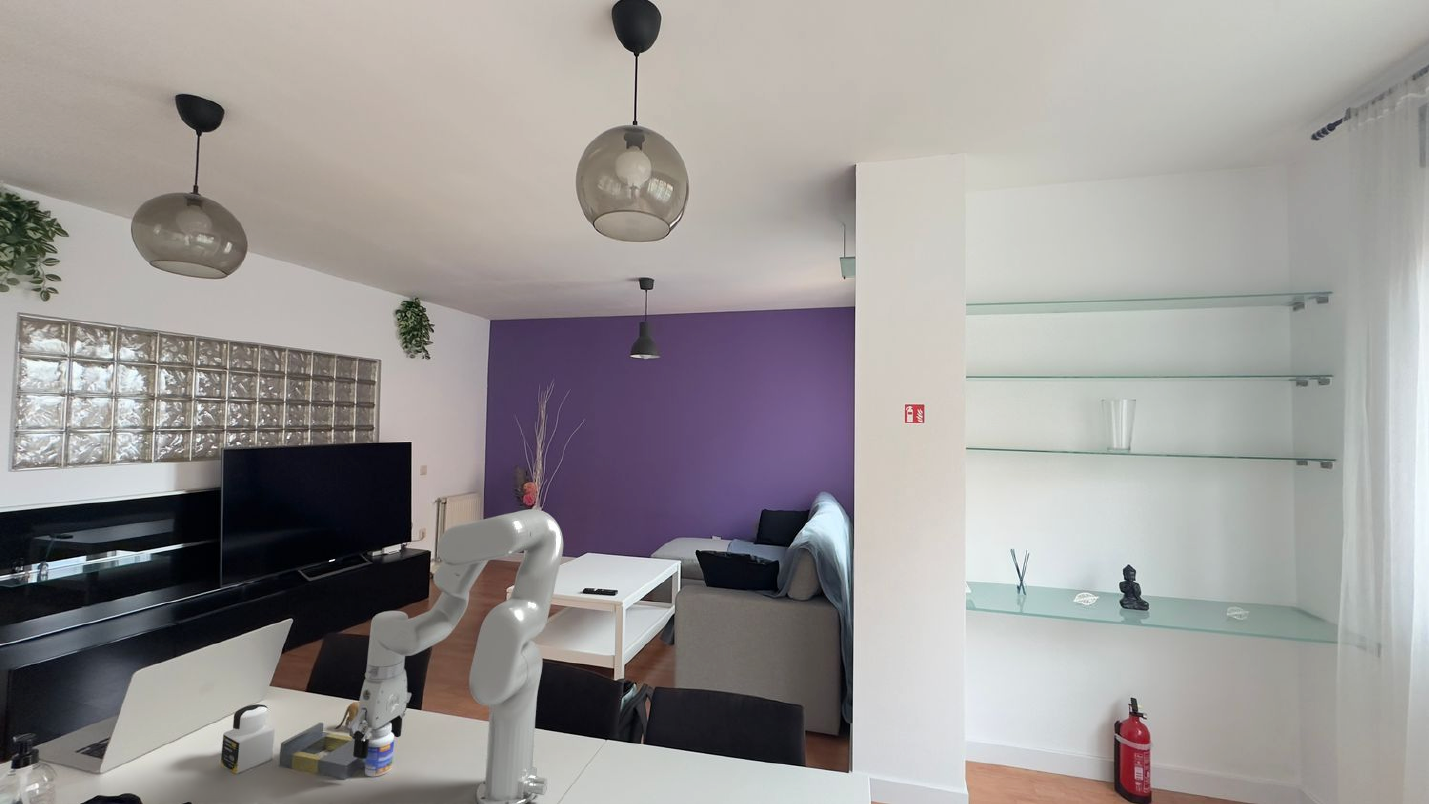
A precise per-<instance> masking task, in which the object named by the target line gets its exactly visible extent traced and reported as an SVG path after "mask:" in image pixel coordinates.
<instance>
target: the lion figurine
mask: <svg viewBox="0 0 1429 804" xmlns="http://www.w3.org/2000/svg"><path fill="white" fill-rule="evenodd" d="M358 706H359V701H355V702H351V704H349V705H348V706H347V707H346V710H345V713H344V715H343V718H342V720H341V722H340V724H338V725H337V726H336V727H335V728H334V730H339V729H340V728H341V727H342V726H343V724H344V723H345V724H344V726H345V728H347V726H348V725H349V723H350V722H351V721H352V720H353V719H354V718H355V717H356V716H357V714H358Z"/></svg>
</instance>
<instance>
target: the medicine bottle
mask: <svg viewBox="0 0 1429 804" xmlns="http://www.w3.org/2000/svg"><path fill="white" fill-rule="evenodd" d="M268 711H269V710H268V706H267V705H265V704H250V705H247V706H244V707H241V708H239V709H238V710H237V711H235V712H234V713H233V724H232V729H231V730H228V731H225V732H224V733H223V736H222V743H221V744H222V745H221V753H220V754H221V757H220V766H223V767H224V768H225V769H227V770H229V771H231V772H232V773H234V774H236V775H237V774H240V773H243V772H245V771H247V770H250V769H252V768H255V767H257V766H260V765H262V764H264V763H267V762H269V761H271V760H272V759H273V754H274V751H273V750H274V741H275V730H276V729H275V727H273V726H271V725H269V724H267V720H268V719H267V718H268Z"/></svg>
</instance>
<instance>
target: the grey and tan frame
mask: <svg viewBox="0 0 1429 804" xmlns="http://www.w3.org/2000/svg"><path fill="white" fill-rule="evenodd" d="M354 742H355V739H353V738H352V737H351V736H348V735H343V734H338V733H332V732H331V733H330V732H325V731H324V722H319V723H317V724H315V725H312V726H311V727H309V728H307V729H305V730H303V731H301V732H299V733H297V734H295V735H294V736H292V737H290V738H288V739H286V740H284V741H282V742H280V750H279V762H278V766H279V767H281V768H282V767H283V768H288V769H292V770H297V771H301V772H307V773H310V774H317V775H320V776H321V775H322V776H326V777H331V778H334V779H335V778H336V779H340V780H345V781H346V780H347V779H348V778H350V777H351V776H354V775H355V774H356V773H357V772H359V771H361V770H362V769H365V762H366V758H365V759H361V758H357V757H354V756H353V752H354ZM322 751H330V752H329V753H327V754H325V755H320V754H319V753H321V752H322Z"/></svg>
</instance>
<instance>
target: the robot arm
mask: <svg viewBox="0 0 1429 804" xmlns="http://www.w3.org/2000/svg"><path fill="white" fill-rule="evenodd" d="M524 551H525V553H524V557H523V559H522V561H521V563H520V565H519V567H518V569H517V573H516V577H515V580H514V585H513V589H512V592H511V594H510V597H509V598H508V599H506V601H504V602H501V603H499V604H497V605H496V606H494V607H493V608H492V609H491V610H490V611H489V612H488V614H487V615H486V616H485V618H484V619H483V622H482V624H481V626H480V630H479V634H478V637H477V642H476V646H475V650H474V655H473V658H472V662H471V667H470V671H469V681H468V682H469V683H468V685H469V690H470V695H471V696H472V697H473V699H474V700H475V701H476V702H477V704H480V705H481V706H484V707H489V719H488V730H487V731H488V732H487V747H486V748H487V749H486V763H485V764H486V765H485V779H484V781H483V782H481V783H480V784H479V786H477V787H478V788H477V789H476V794H475V795H476V797H475V799H476V802H477V804H528V803H529V802H530V801H532V800H533V799H534V798H535V797H536V796H537V795H539V796H545V795H546V793H547V790H548V785H547V783H548V778H545V777H539V776H538V775H537V773H538V772H537V771H538V768H537V767H534V766H533V763H534V762H533V760H534V749H535V748H534V747H535V746H534V745H535V731H536V730H535V729H536V715H537V714H536V713H537V712H536V711H537V701H538V700H537V699H538V698H537V697H538V691H539V686H540V680H541V675H542V673H543V672H542V671H543V670H542V669H543V655H542V652H541V649H540V647H539V645H537V643H536V642H534V641H532V639H534V638H535V637H537V636H538V635H539V634H540V633H542V631H543V630H544V629H545V627H546V625H547V622H548V619H549V614H550V610H551V604H552V602H553V601H552V600H553V595H554V592H555V587H556V582H557V579H558V574H559V570H560V567H561V562H562V558H563V553H564V552H563V551H564V539H563V533H562V529H561V528H560V525H559V524H558V522H557V521H556V519H555V518H554V517H552V516H551V515H550V514H549V513H547V512H545V511H543V510H540V509H533V508H530V509H523V510H519V511H516V512H510V513H504V514H501V515H497V516H493V517H487V518H485V519H481V520H474V521H469V522H464V523H461V524H456V525H453V526H451V527H449V528H447V529H446V530H445V531H444V532H443V533H442V535H441V536H440V539H439V541H438V545H437V554H438V556H439V558H440V560H441V562H440V564H439V565H438V567H437V568H436V570H435V571H434V573H433V583H434V584H435V586H436V587H437V588H438V589H439V590H440V591H441V594H440V595H439V598H438V599H437V600H436V602H435V603H434V605H433V606H432V608H431V609H430V610H429V611H426V612H423V613H421V614H419V615H416V616H414V617H411V618H409V616H408V614H407V613H406V612H404V611H399V610H388V611H382V612H380V613H377V614H376V615H375V616H373V617H372V619H371V622H370V633H369V641H368V642H369V643H368V650H367V661H366V662H367V663H366V670H365V673H364V677H365V679H364V681H363V684H362V688H361V691H360V696H359V701H358V702H359V706H358V714H357V716H356V717H355V718H354V719H353V720H352V721H351V722H350V721H349V725H348V726H347V727H346V729H347V731H348V733H349V737H352V738H353V739H355V742H354V752H353V756H354V757H357V758H361V759H365V758H367V756H368V747H369V739H368V738H369V737H370V733H371V730H372V729H377V728H379V727H381V726H382V725H384V724H386V723H387V722H390V723H391V724H392V730H391V732H392V733H393V734H394V738H400V737H401V735H402V727H403V718H405V716H406V713H405V712H406V711H407V708H408V707H409V702H410V700H411V697H412V692H408V677H407V671H406V669H405V661H406V660H405V659H406V657H408V656H409V657H410V656H414V655H416V654H419V653H420V652H423V651H425V650H427V649H428V648H430V647H432V646H434V645H436V644H438V643H440V642H442V641H444V640H445V639H446V638H448V636H450V635H451V633H452V632H453V631H454V630H455V629H456V626H457V625H458V624H459V622H460V621H461V619H462V618H463V616H464V614H465V613H466V611H467V608H468V605H469V602H470V601H469V600H470V591H471V589H472V587H473V585H474V584H475V582H476V581H477V579H478V577H479V576H480V574H481V573H482V572H483V570H484V568H485V566H486V565H487V564H488V562H489V561H491V560H496V559H499V558H500V559H501V558H506V557H508V556H509V557H510V556H511V555H512V556H513V555H515V554H519V553H521V552H524ZM364 728H365V730H364V732H362V731H363V729H364Z"/></svg>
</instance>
